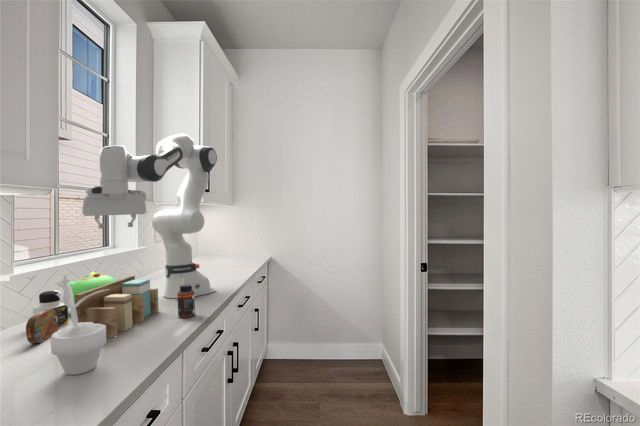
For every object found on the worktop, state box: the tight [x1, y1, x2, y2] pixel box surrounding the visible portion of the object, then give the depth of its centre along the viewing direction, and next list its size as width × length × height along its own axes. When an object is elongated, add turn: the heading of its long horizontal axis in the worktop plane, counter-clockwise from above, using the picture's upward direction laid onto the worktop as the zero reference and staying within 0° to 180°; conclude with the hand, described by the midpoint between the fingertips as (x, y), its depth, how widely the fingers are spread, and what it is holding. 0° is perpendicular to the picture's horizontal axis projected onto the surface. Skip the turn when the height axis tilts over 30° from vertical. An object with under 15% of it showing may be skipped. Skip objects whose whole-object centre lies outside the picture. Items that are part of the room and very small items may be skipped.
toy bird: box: [58, 271, 117, 305], centre depth 147 cm, size 18×17×15 cm
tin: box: [25, 308, 60, 344], centre depth 114 cm, size 15×3×8 cm, turn 12°
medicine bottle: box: [32, 289, 69, 327], centre depth 127 cm, size 7×7×12 cm
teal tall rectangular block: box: [122, 278, 152, 318], centre depth 135 cm, size 6×7×13 cm
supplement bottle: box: [176, 284, 196, 319], centre depth 134 cm, size 6×6×11 cm
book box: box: [104, 294, 133, 331], centre depth 122 cm, size 7×4×11 cm, turn 86°
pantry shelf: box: [75, 275, 159, 338], centre depth 126 cm, size 10×30×14 cm, turn 177°
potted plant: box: [50, 273, 109, 376], centre depth 91 cm, size 13×12×25 cm
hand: (116, 227), depth 133 cm, fingers open, 8 cm apart
